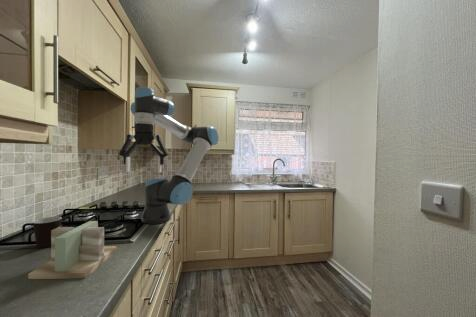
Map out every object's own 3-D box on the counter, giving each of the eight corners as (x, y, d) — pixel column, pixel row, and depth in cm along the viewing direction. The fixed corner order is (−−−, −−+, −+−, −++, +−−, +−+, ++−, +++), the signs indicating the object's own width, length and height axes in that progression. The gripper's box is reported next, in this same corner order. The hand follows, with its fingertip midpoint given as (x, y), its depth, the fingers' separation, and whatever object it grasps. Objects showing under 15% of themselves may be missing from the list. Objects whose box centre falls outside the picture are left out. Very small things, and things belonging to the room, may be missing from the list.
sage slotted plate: (65, 271, 63) (65, 238, 63) (54, 271, 63) (54, 238, 63) (97, 247, 79) (97, 221, 79) (89, 247, 79) (89, 221, 79)
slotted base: (72, 250, 79) (72, 220, 79) (116, 250, 80) (116, 220, 80) (28, 279, 61) (28, 239, 61) (85, 278, 62) (85, 239, 62)
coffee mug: (44, 250, 79) (44, 224, 79) (26, 248, 81) (26, 222, 81) (74, 238, 90) (74, 215, 90) (58, 236, 92) (58, 213, 92)
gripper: (110, 121, 88) (110, 172, 88) (171, 123, 90) (170, 173, 90) (119, 124, 96) (119, 171, 96) (175, 125, 97) (174, 171, 97)
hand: (143, 172), depth 93 cm, fingers open, 13 cm apart
